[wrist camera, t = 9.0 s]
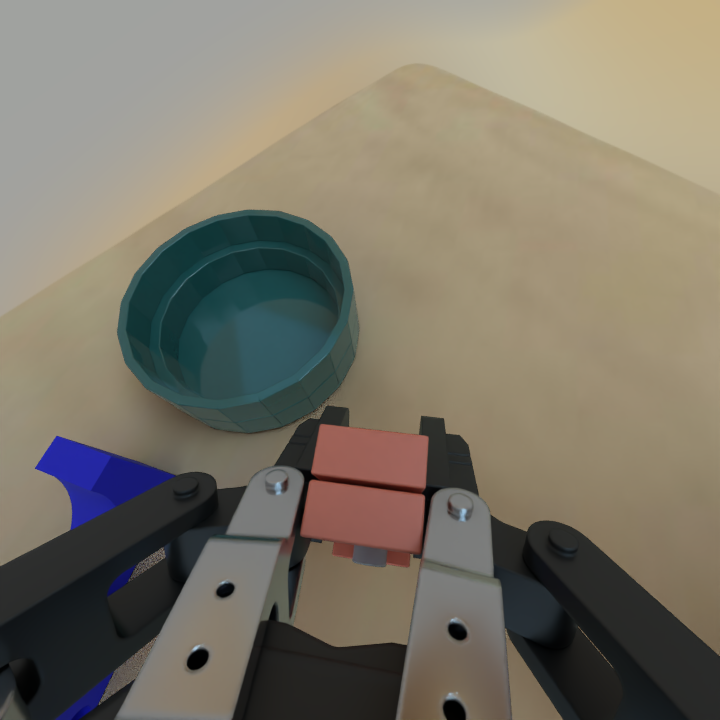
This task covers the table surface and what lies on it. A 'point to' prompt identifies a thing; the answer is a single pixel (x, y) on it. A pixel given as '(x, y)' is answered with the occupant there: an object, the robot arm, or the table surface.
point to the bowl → (242, 320)
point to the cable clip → (96, 507)
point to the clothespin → (368, 494)
